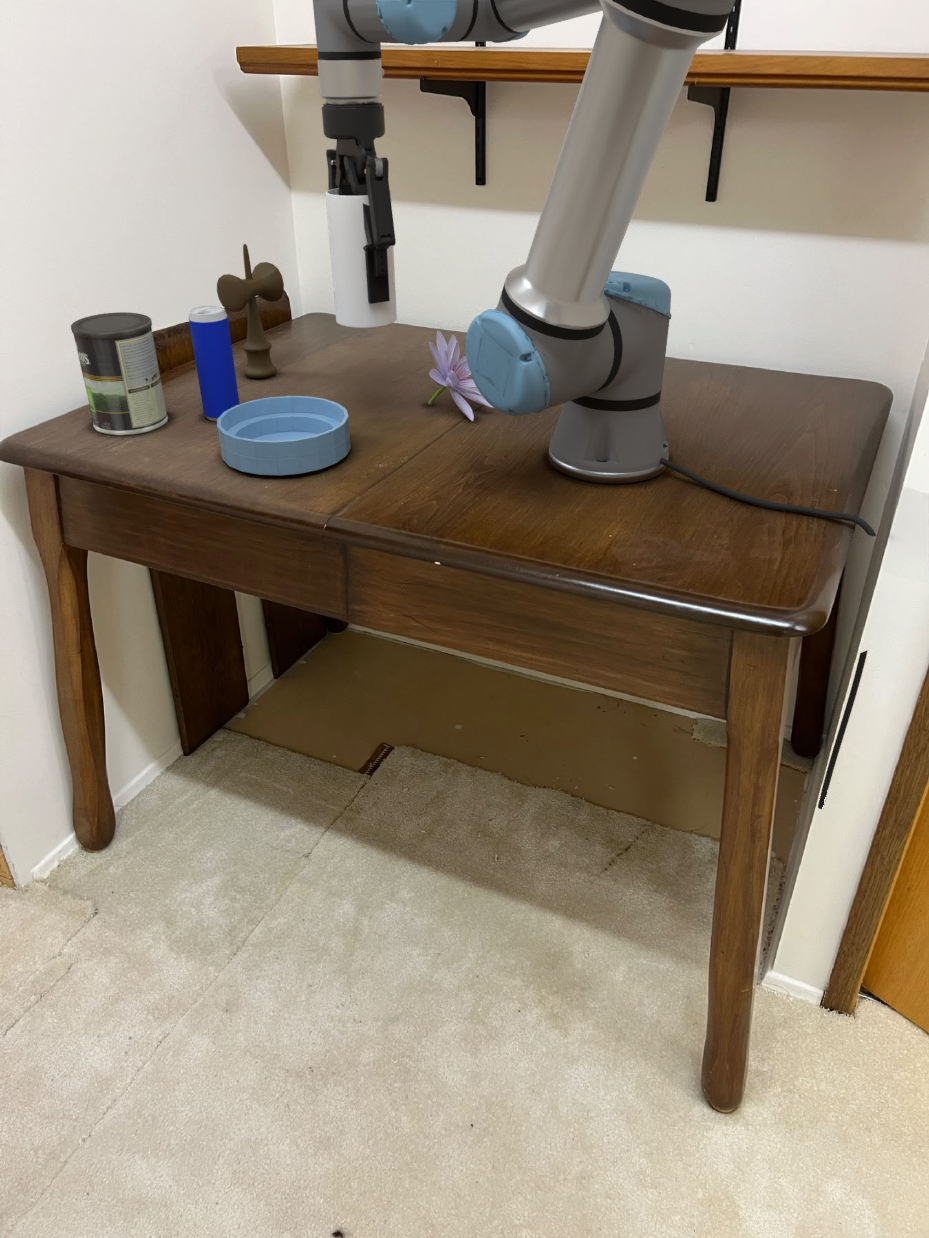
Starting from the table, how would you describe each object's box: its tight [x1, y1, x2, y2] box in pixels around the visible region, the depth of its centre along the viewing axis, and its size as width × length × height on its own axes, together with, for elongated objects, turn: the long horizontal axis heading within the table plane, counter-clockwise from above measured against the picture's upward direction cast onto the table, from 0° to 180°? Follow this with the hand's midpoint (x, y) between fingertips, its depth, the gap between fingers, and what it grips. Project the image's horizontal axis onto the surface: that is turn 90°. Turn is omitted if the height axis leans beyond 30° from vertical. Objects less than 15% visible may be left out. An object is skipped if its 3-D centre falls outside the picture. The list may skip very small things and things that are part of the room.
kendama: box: [216, 243, 285, 379], centre depth 145 cm, size 6×10×20 cm, turn 149°
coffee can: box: [70, 311, 169, 436], centre depth 129 cm, size 10×10×14 cm
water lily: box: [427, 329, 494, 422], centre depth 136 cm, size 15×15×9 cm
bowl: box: [216, 395, 352, 476], centre depth 122 cm, size 17×17×5 cm
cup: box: [325, 188, 398, 329], centre depth 123 cm, size 8×8×16 cm
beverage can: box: [188, 305, 241, 422], centre depth 131 cm, size 5×5×15 cm
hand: (364, 294), depth 125 cm, fingers closed on cup, 8 cm apart
